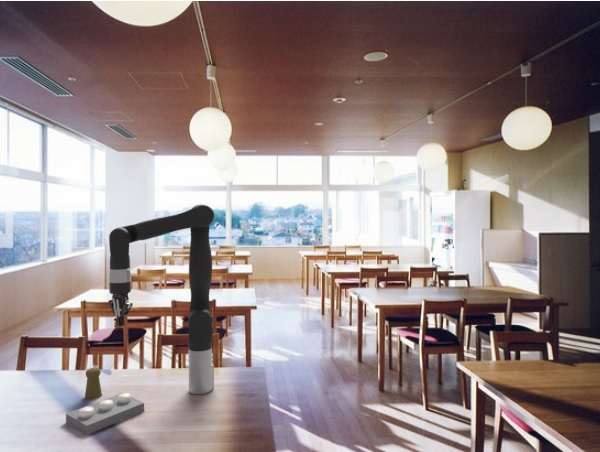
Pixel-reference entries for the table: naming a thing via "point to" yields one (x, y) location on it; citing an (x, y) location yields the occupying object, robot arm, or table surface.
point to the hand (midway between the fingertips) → (120, 325)
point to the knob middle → (105, 405)
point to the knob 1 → (86, 412)
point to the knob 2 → (124, 398)
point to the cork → (93, 384)
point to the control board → (104, 415)
